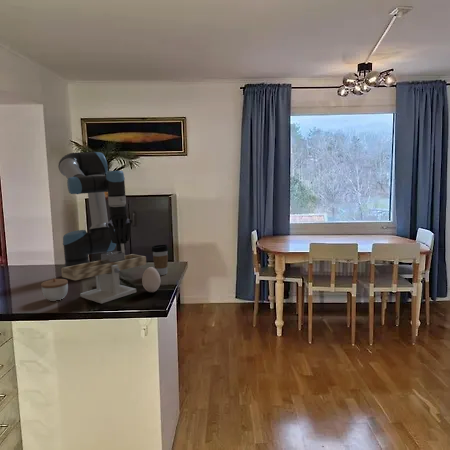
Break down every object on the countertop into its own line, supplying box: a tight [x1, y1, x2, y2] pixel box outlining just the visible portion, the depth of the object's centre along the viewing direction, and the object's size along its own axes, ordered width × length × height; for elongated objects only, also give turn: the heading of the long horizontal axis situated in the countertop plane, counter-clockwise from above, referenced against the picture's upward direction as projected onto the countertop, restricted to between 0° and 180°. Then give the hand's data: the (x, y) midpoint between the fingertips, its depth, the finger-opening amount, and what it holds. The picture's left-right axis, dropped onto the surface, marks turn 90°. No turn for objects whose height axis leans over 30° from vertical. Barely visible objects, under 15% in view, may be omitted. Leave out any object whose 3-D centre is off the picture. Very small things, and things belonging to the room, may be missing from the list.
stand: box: [80, 265, 137, 304], centre depth 181 cm, size 18×16×14 cm
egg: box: [141, 266, 162, 293], centre depth 182 cm, size 8×8×11 cm
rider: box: [100, 250, 125, 265], centre depth 183 cm, size 8×6×5 cm
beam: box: [60, 253, 147, 281], centre depth 180 cm, size 36×10×4 cm, turn 140°
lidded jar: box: [40, 277, 69, 302], centre depth 178 cm, size 11×11×9 cm
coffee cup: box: [151, 244, 169, 276], centre depth 212 cm, size 8×8×15 cm
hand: (122, 257), depth 186 cm, fingers closed
